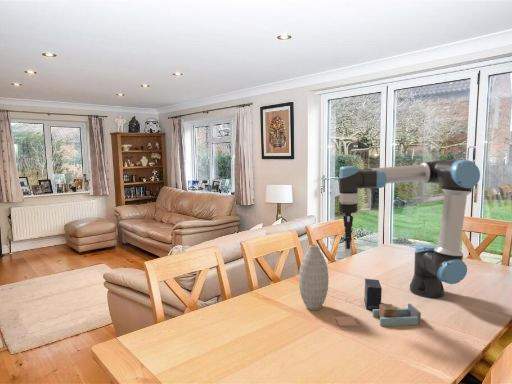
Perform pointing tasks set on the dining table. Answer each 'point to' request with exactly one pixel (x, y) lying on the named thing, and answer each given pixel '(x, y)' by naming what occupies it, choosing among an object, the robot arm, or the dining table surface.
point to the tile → (346, 321)
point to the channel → (407, 317)
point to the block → (387, 310)
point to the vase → (313, 278)
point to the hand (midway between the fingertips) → (347, 251)
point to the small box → (372, 294)
